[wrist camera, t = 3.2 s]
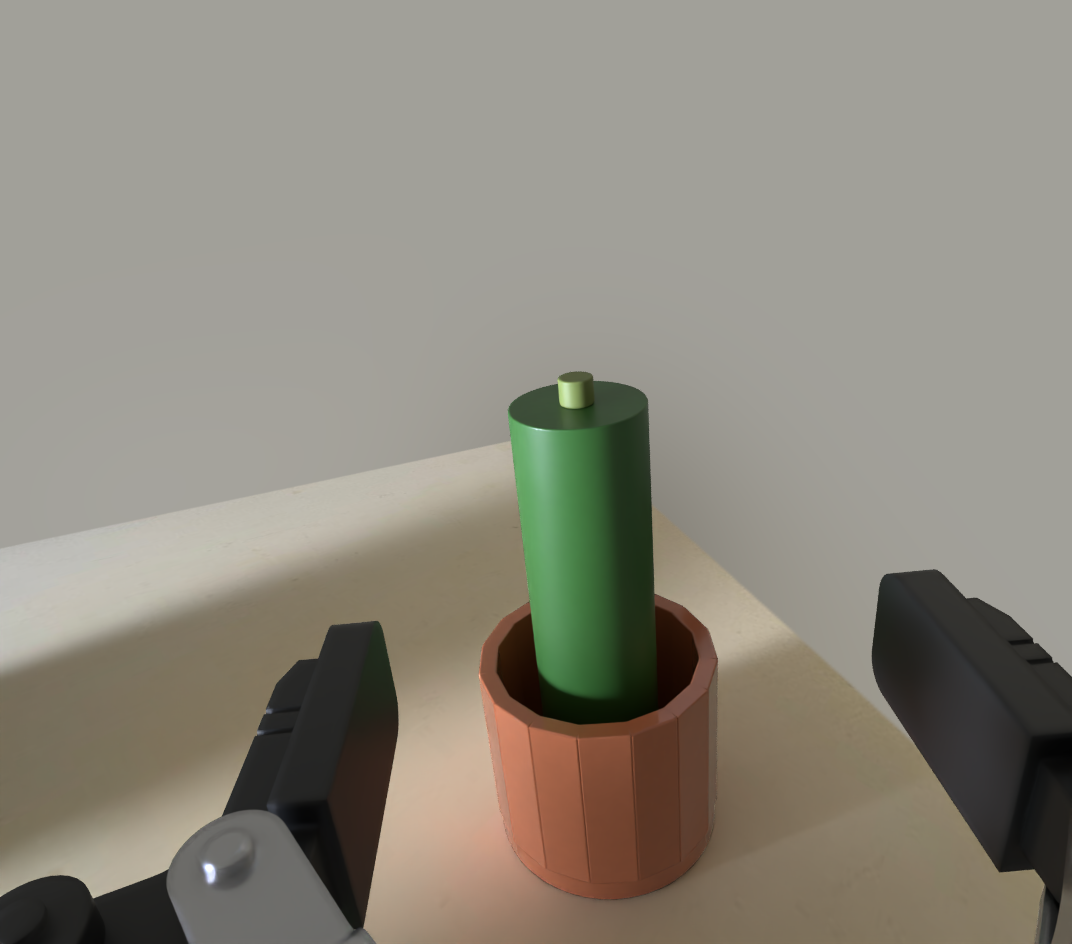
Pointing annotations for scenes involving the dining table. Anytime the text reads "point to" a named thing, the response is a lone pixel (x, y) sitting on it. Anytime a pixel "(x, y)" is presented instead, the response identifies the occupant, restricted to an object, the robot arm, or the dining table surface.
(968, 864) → the dining table surface
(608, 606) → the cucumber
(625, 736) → the crock
